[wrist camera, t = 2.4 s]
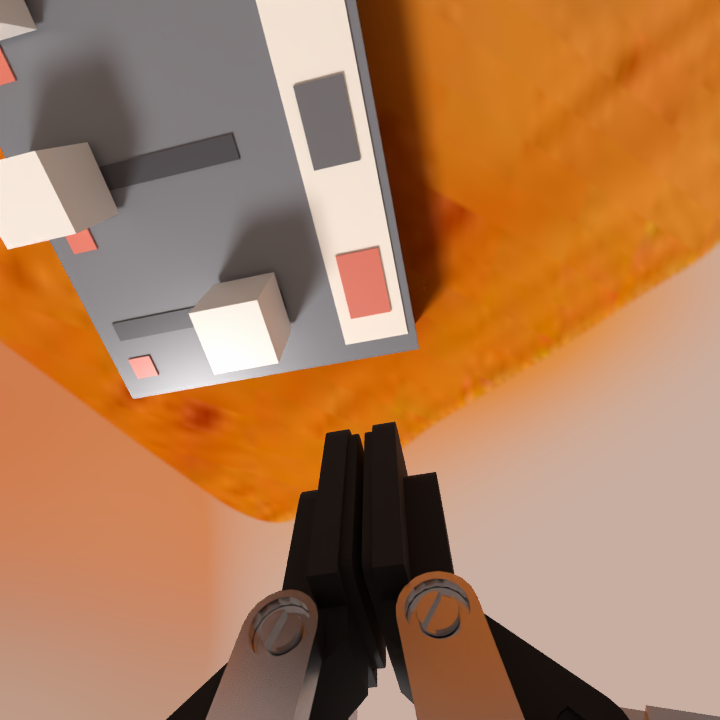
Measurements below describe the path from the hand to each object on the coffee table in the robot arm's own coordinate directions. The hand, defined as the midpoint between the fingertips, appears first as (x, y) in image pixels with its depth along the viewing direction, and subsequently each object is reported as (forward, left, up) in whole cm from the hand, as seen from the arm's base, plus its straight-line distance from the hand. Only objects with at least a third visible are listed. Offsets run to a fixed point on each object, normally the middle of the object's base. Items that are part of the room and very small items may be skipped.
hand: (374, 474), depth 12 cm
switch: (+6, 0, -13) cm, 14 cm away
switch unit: (+7, -7, -16) cm, 19 cm away
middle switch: (+12, -7, -13) cm, 19 cm away
